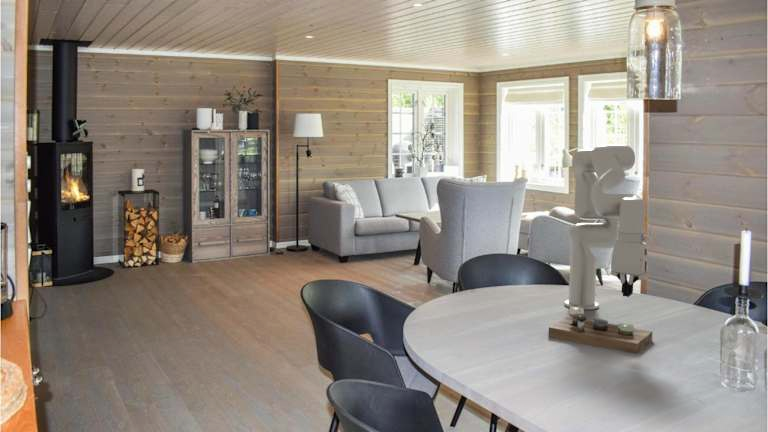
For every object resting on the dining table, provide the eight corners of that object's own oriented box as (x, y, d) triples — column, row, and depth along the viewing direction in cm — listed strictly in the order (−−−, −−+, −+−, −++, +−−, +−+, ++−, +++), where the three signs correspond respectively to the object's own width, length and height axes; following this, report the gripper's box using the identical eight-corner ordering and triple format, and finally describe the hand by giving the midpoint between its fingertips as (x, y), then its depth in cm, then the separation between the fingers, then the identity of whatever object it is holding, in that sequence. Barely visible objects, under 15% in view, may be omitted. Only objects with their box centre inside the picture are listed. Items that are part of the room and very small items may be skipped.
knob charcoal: (595, 334, 227) (596, 318, 226) (609, 336, 224) (609, 320, 224) (590, 337, 223) (591, 321, 223) (604, 340, 221) (605, 323, 220)
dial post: (577, 329, 223) (578, 314, 222) (587, 331, 221) (588, 316, 220) (573, 331, 220) (574, 316, 220) (583, 333, 218) (584, 318, 218)
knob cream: (572, 321, 231) (572, 306, 231) (585, 324, 229) (585, 308, 228) (567, 324, 228) (567, 308, 227) (580, 327, 225) (580, 311, 224)
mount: (567, 325, 238) (567, 316, 238) (652, 340, 222) (652, 331, 222) (548, 336, 226) (548, 327, 225) (636, 353, 209) (637, 343, 209)
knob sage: (620, 338, 222) (621, 322, 221) (634, 341, 220) (635, 325, 219) (615, 342, 219) (616, 325, 218) (630, 344, 216) (630, 328, 215)
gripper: (659, 238, 214) (655, 297, 216) (610, 233, 222) (607, 289, 225) (652, 242, 208) (648, 302, 210) (602, 236, 216) (599, 294, 219)
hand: (626, 295), depth 218 cm, fingers closed
